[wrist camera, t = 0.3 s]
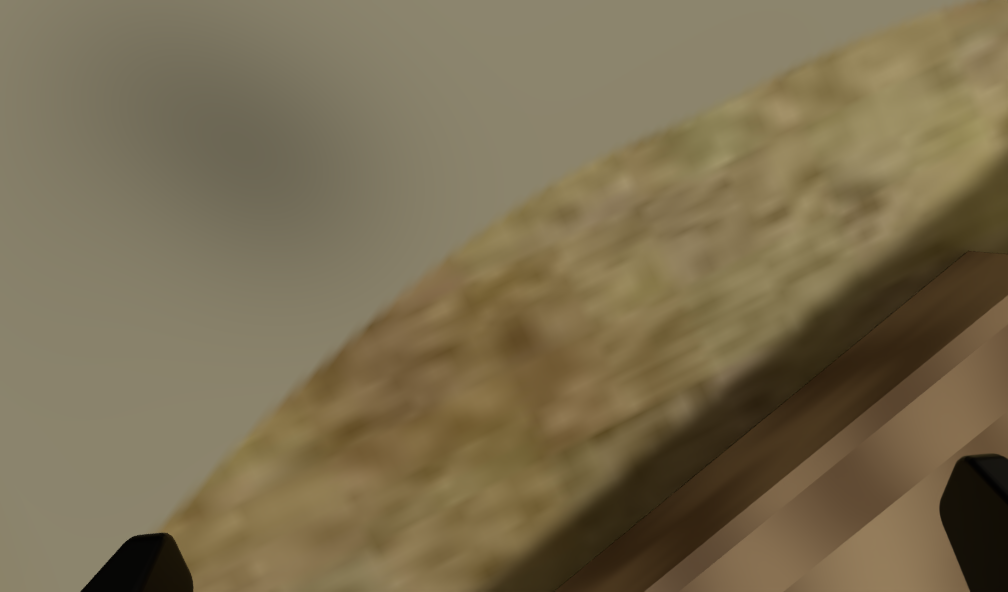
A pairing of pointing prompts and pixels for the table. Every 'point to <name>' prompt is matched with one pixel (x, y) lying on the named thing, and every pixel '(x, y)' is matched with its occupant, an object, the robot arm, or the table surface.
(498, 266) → the table surface
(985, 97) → the table surface
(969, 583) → the robot arm
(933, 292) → the box
